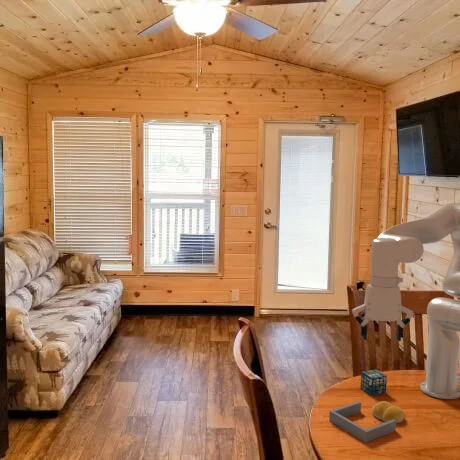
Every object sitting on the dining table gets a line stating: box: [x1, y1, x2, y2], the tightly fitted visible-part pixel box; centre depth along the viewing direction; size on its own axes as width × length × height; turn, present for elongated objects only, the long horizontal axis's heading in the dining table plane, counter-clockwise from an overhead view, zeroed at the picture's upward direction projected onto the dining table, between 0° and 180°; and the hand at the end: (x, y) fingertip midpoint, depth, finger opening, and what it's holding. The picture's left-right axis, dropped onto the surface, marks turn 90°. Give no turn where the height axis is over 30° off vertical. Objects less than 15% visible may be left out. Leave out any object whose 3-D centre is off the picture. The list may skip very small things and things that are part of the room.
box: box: [328, 401, 397, 443], centre depth 146 cm, size 12×14×3 cm
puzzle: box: [360, 368, 388, 397], centre depth 169 cm, size 6×6×6 cm
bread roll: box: [371, 400, 405, 424], centre depth 152 cm, size 8×9×4 cm
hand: (381, 338), depth 148 cm, fingers open, 9 cm apart
